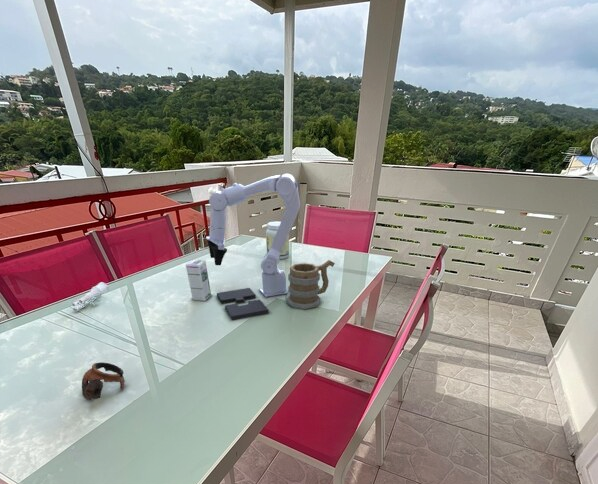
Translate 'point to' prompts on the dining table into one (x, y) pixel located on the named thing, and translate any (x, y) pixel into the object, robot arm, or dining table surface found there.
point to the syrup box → (198, 280)
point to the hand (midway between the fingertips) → (215, 261)
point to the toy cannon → (91, 296)
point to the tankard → (307, 284)
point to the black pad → (236, 296)
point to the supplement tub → (271, 235)
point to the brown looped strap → (95, 376)
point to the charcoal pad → (246, 309)
